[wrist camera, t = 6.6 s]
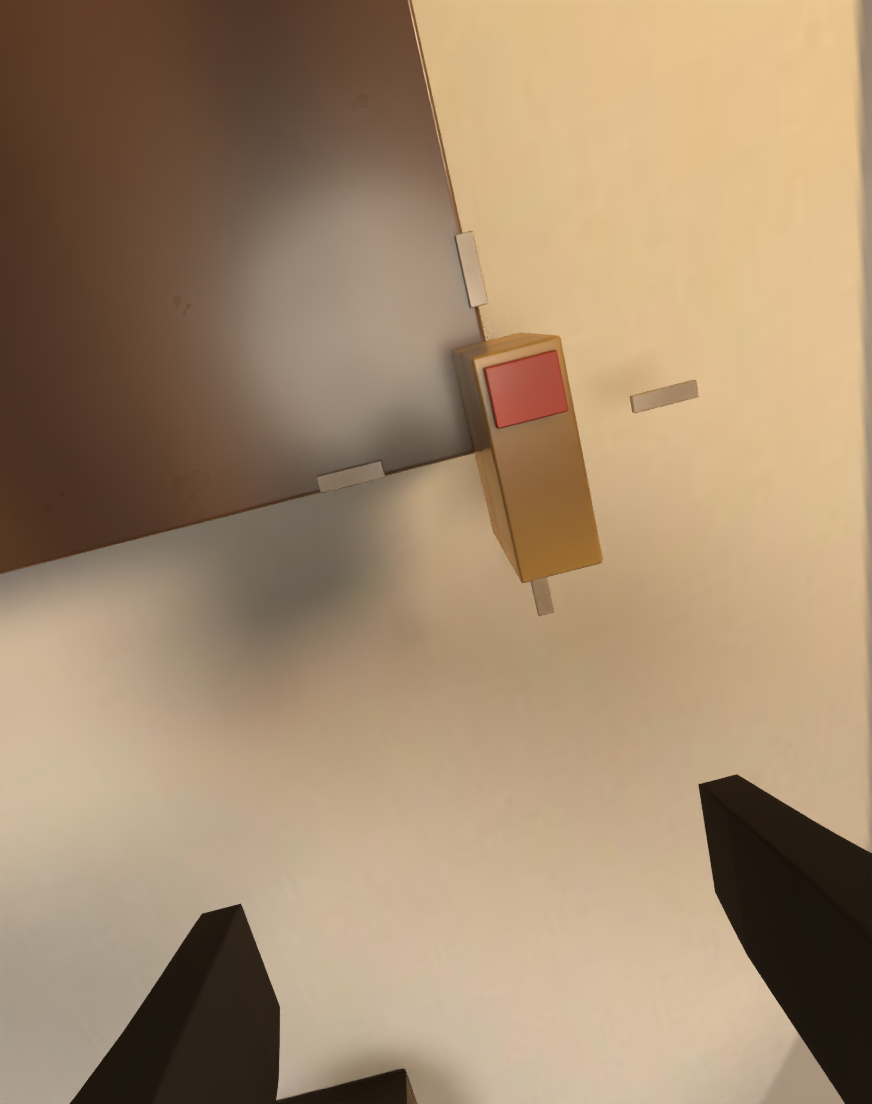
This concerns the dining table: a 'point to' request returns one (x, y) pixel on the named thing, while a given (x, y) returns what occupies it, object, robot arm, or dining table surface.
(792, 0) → the dining table surface
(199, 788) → the dining table surface
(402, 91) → the panel
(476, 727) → the dining table surface
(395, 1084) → the button box
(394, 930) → the dining table surface
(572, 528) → the tap handle
